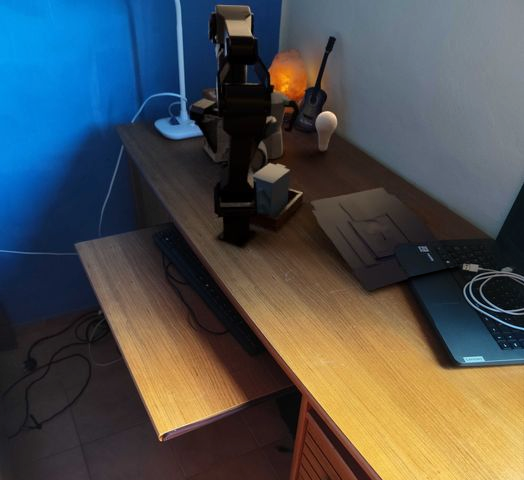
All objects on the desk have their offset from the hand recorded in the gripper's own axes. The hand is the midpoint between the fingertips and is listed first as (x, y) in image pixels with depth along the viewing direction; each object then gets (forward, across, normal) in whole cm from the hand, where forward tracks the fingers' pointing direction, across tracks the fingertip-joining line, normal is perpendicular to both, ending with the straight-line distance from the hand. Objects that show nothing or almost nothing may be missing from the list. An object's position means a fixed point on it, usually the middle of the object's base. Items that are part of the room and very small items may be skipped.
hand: (232, 158), depth 105 cm
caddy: (+12, -9, -4) cm, 16 cm away
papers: (+13, -35, -6) cm, 38 cm away
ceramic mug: (+13, +7, -20) cm, 25 cm away
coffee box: (+13, +18, -23) cm, 32 cm away
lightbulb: (+13, -6, -42) cm, 44 cm away
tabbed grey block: (+12, -9, -2) cm, 15 cm away
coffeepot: (+13, +6, -32) cm, 35 cm away
